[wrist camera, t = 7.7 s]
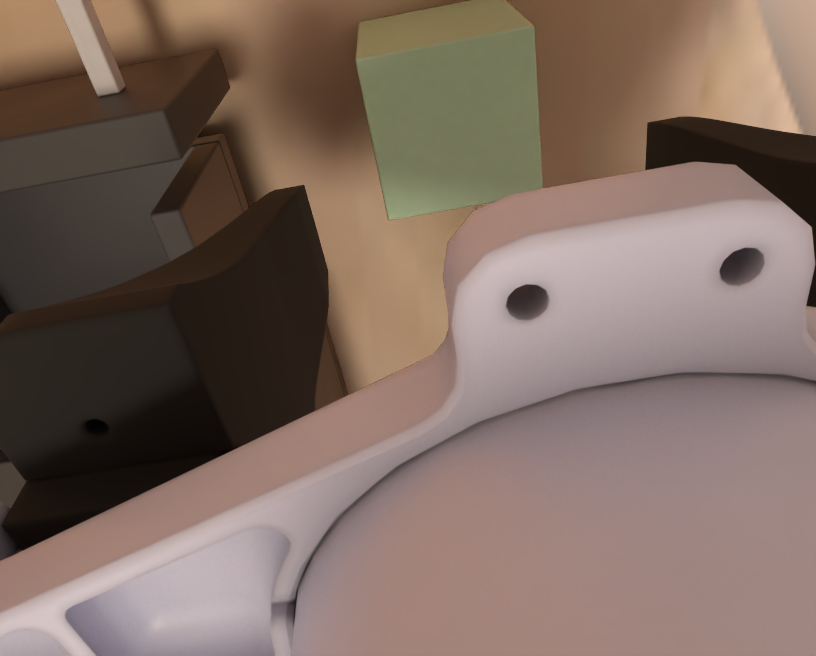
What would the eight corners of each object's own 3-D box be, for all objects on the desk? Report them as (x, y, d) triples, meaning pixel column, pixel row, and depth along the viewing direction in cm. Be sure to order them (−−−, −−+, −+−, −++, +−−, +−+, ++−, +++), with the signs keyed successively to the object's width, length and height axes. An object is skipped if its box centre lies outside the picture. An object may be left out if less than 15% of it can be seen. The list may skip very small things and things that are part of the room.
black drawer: (-253, -68, 17) (-517, -45, 12) (153, -155, 16) (56, -170, 11) (58, 410, 27) (-14, 533, 22) (320, 366, 26) (308, 484, 21)
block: (500, -7, 20) (534, 24, 15) (511, 135, 22) (543, 194, 18) (358, 21, 20) (354, 59, 16) (385, 158, 22) (388, 221, 18)
